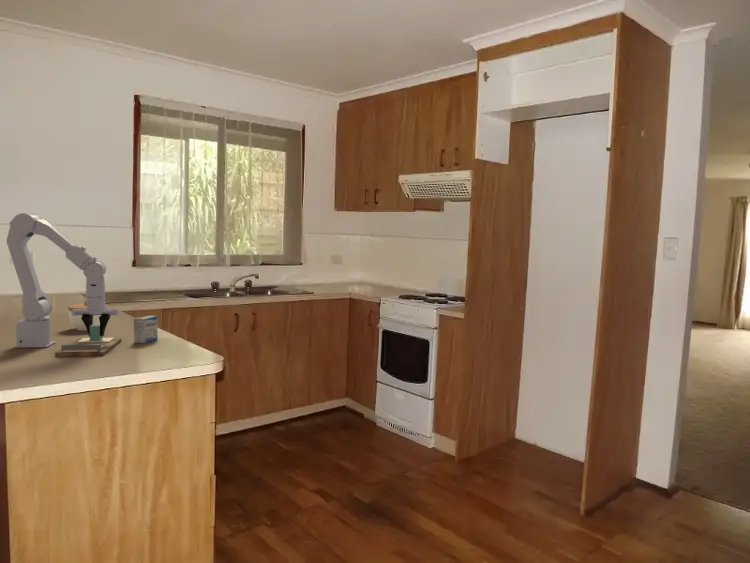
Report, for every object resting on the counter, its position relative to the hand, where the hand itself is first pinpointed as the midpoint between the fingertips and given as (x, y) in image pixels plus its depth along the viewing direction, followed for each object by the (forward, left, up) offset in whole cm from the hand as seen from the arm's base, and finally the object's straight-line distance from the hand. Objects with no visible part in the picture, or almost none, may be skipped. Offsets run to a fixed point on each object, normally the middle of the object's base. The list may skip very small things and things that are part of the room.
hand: (96, 336), depth 193 cm
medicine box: (+15, +5, -3) cm, 16 cm away
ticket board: (0, -7, -3) cm, 7 cm away
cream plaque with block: (0, 0, -2) cm, 2 cm away
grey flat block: (0, -13, -2) cm, 13 cm away
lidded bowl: (-12, +30, -3) cm, 33 cm away
